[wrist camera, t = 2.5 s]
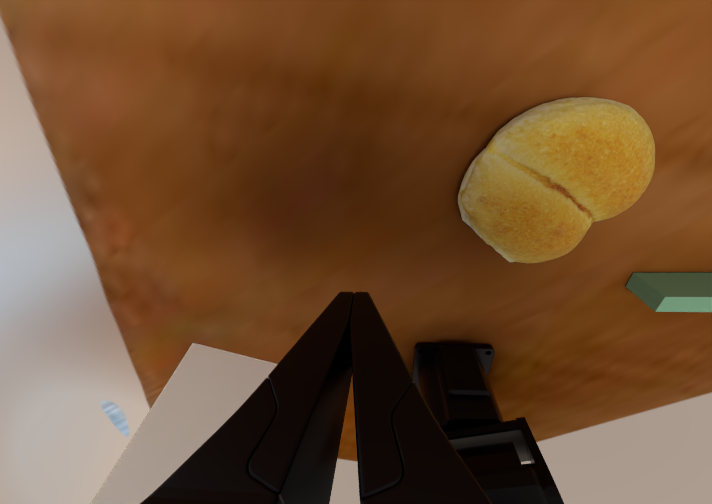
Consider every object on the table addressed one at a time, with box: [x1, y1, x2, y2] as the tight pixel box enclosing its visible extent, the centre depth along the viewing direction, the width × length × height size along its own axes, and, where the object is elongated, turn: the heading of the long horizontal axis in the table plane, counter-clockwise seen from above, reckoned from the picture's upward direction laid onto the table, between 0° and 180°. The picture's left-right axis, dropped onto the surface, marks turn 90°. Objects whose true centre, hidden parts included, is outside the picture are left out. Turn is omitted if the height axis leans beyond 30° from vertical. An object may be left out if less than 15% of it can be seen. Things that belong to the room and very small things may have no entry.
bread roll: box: [458, 97, 655, 263], centre depth 15 cm, size 8×9×4 cm
